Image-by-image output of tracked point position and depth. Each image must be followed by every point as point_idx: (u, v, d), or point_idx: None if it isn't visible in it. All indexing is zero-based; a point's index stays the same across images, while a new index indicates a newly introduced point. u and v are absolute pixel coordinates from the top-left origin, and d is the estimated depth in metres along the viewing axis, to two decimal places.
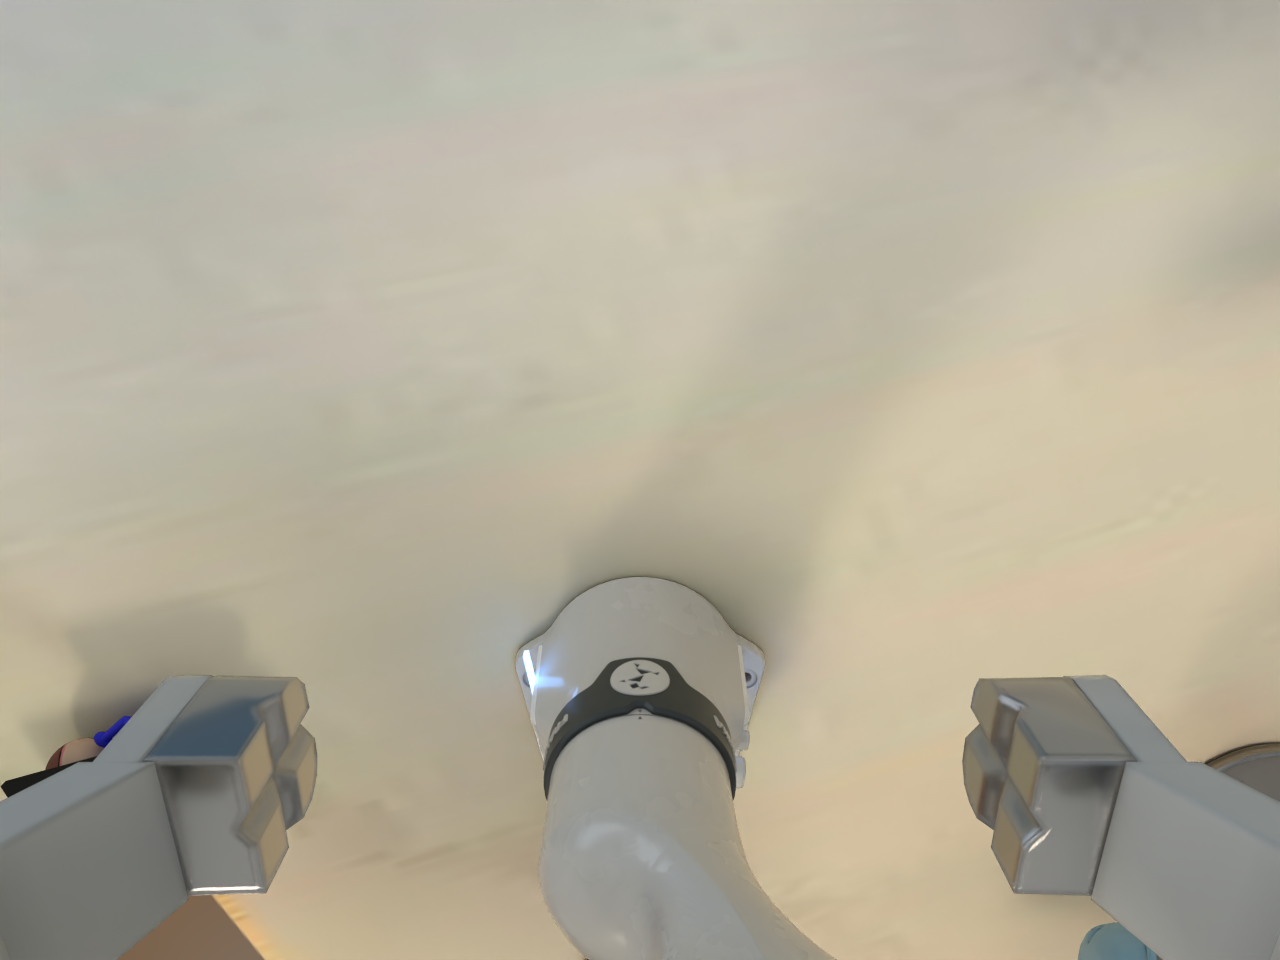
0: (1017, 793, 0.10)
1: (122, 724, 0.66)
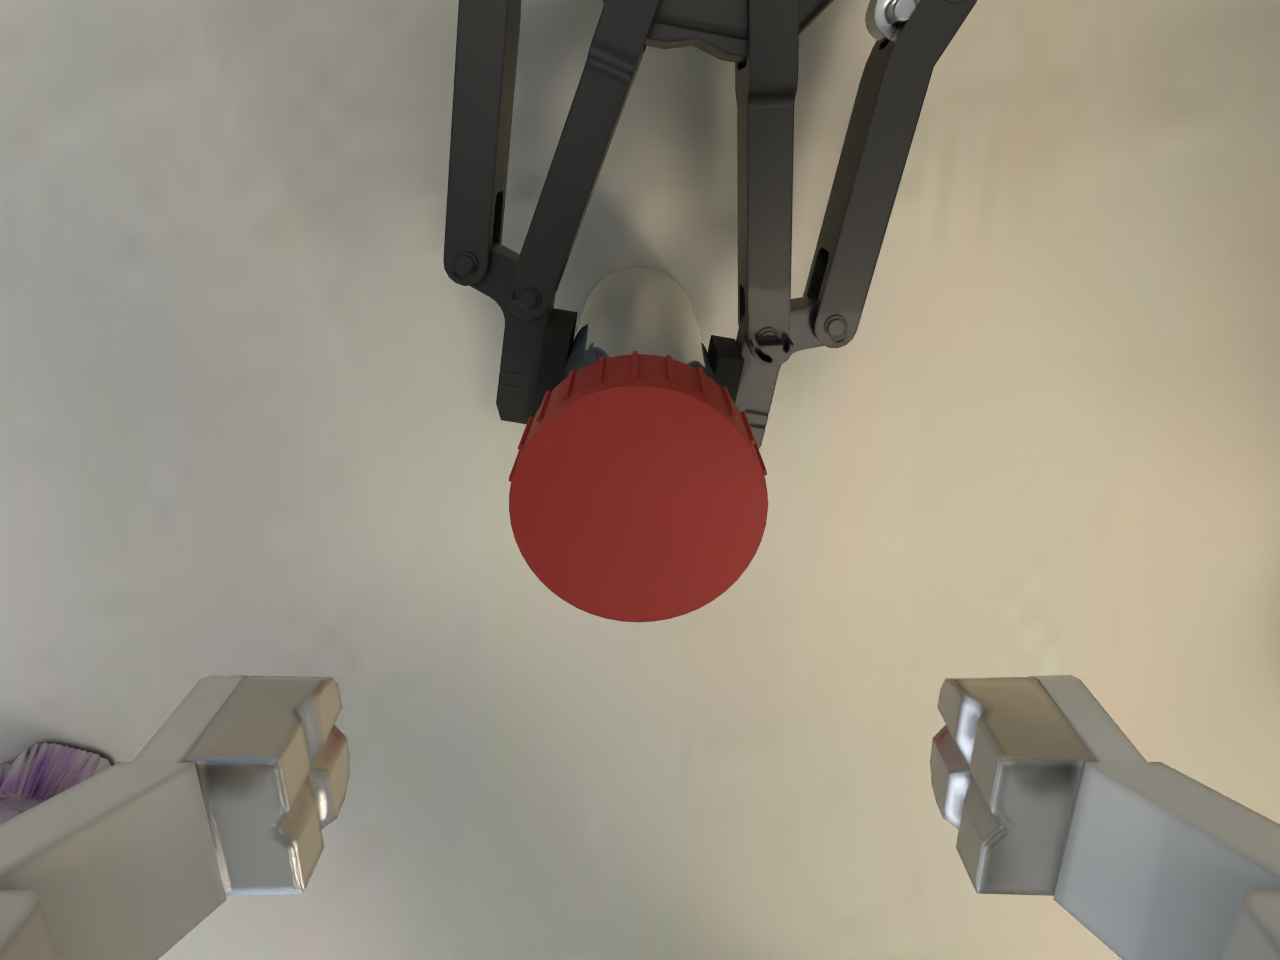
0: (981, 793, 0.10)
1: None
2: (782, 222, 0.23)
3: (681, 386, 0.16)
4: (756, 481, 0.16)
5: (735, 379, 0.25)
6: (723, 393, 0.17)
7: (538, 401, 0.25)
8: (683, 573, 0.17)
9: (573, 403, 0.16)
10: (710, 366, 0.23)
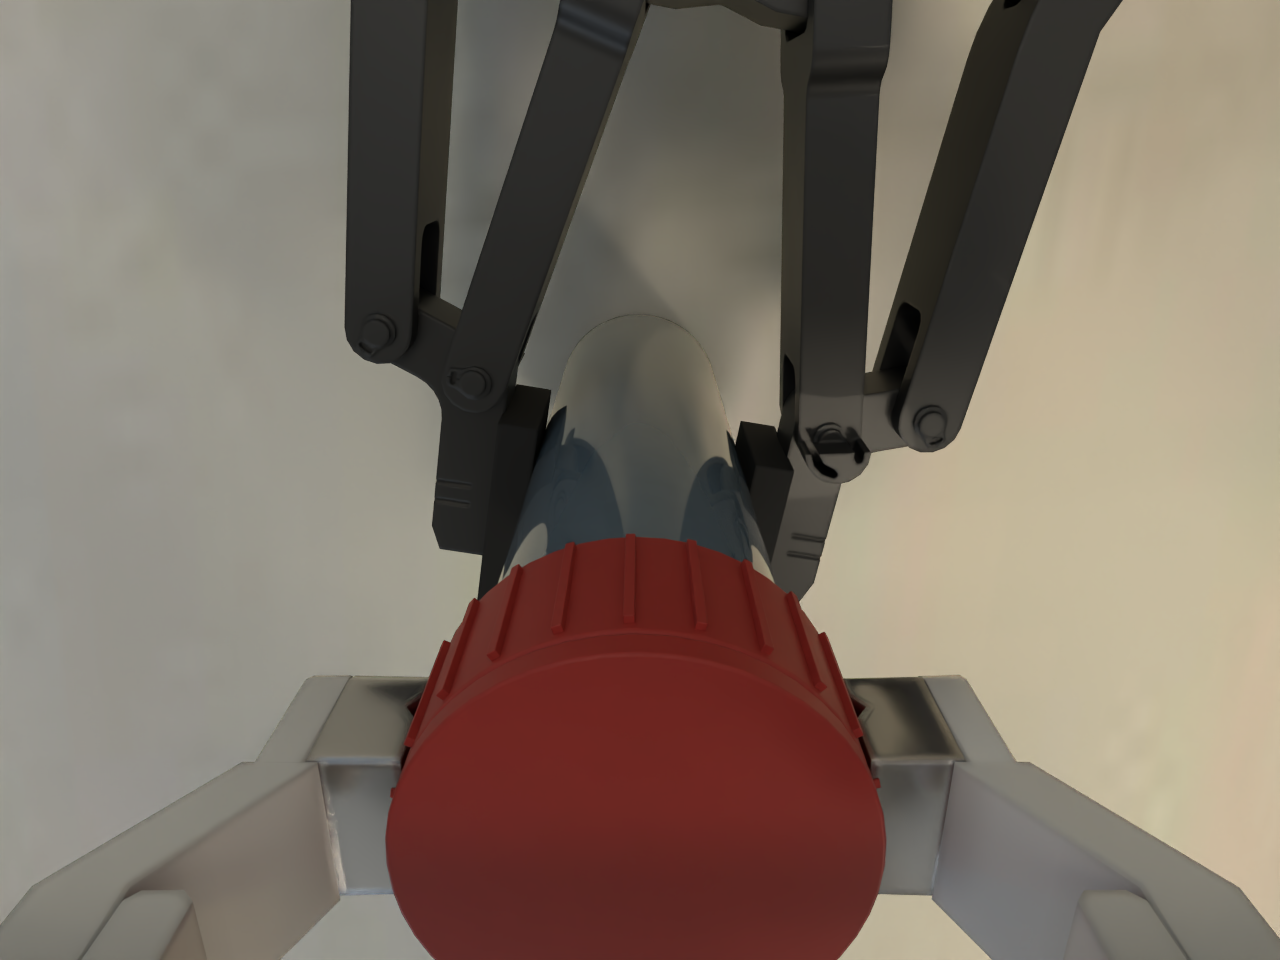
0: None
1: None
2: (855, 271, 0.15)
3: (721, 640, 0.08)
4: (866, 818, 0.08)
5: (781, 498, 0.17)
6: (792, 614, 0.10)
7: (490, 528, 0.17)
8: None
9: (504, 685, 0.08)
10: (748, 495, 0.15)
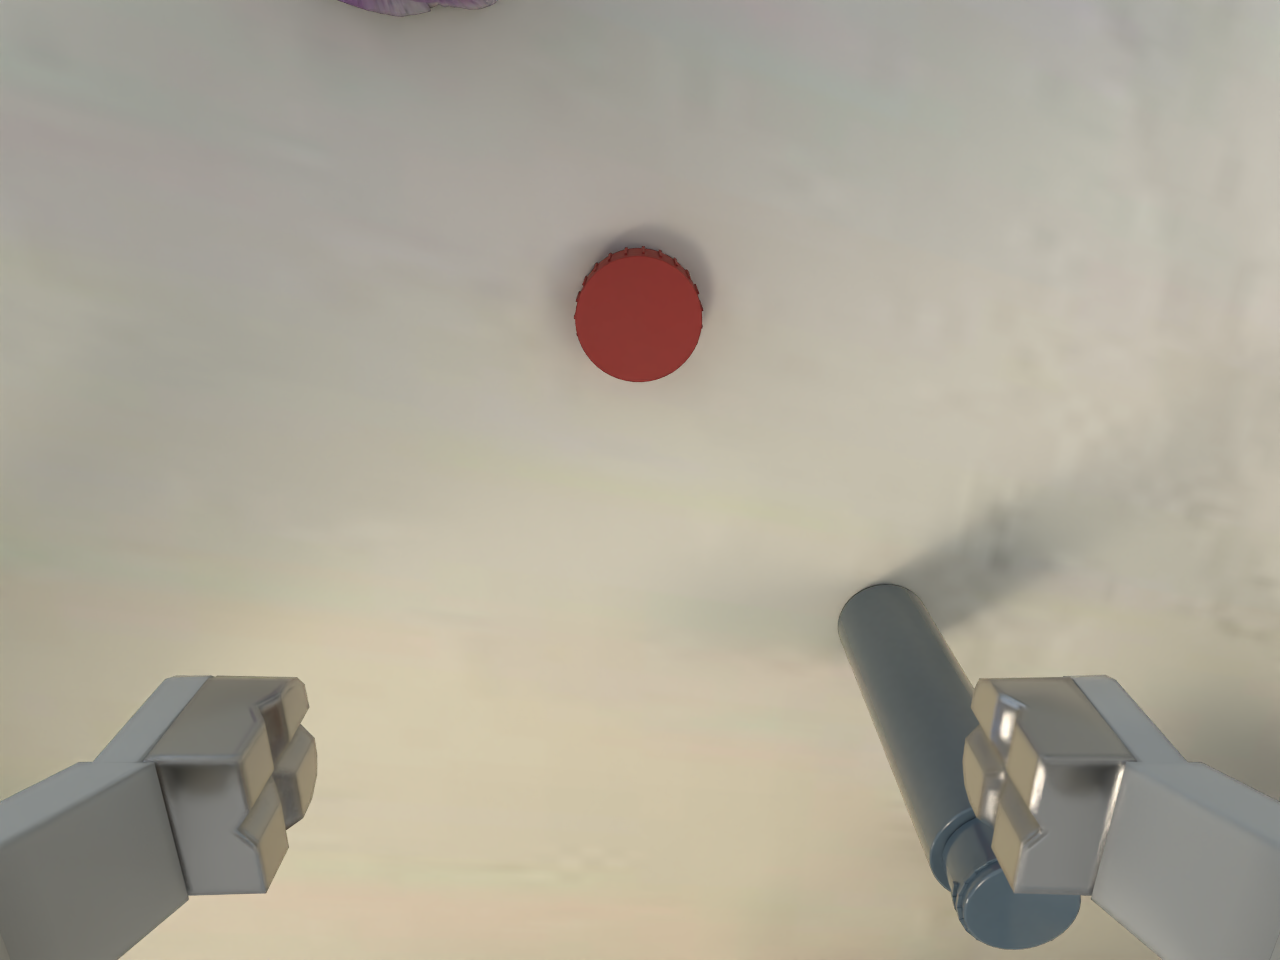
0: (1017, 793, 0.10)
1: None
2: None
3: (631, 254, 0.33)
4: (684, 281, 0.33)
5: None
6: (658, 252, 0.34)
7: None
8: (673, 341, 0.34)
9: (586, 283, 0.33)
10: None
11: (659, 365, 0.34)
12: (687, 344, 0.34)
